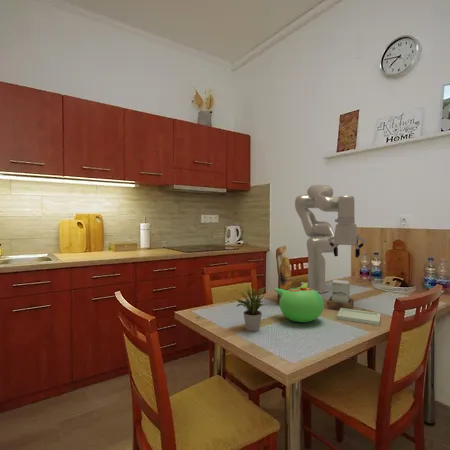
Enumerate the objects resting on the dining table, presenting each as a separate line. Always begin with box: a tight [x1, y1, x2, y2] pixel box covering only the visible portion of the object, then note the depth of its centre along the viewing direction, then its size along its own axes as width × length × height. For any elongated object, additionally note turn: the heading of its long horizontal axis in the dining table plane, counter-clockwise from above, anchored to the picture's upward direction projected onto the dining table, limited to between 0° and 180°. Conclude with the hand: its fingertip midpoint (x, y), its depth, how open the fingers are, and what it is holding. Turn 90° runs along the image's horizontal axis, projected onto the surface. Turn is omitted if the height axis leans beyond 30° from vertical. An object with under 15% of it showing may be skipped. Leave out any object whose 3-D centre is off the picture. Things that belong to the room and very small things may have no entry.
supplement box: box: [331, 278, 351, 303], centre depth 144 cm, size 7×7×13 cm
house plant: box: [232, 286, 268, 332], centre depth 117 cm, size 14×14×16 cm
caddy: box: [326, 295, 355, 311], centre depth 144 cm, size 10×10×4 cm
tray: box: [336, 308, 381, 326], centre depth 129 cm, size 16×12×2 cm
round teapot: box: [273, 282, 325, 323], centre depth 126 cm, size 18×17×15 cm
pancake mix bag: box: [275, 245, 293, 306], centre depth 153 cm, size 7×19×28 cm, turn 148°
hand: (346, 256), depth 146 cm, fingers open, 9 cm apart
